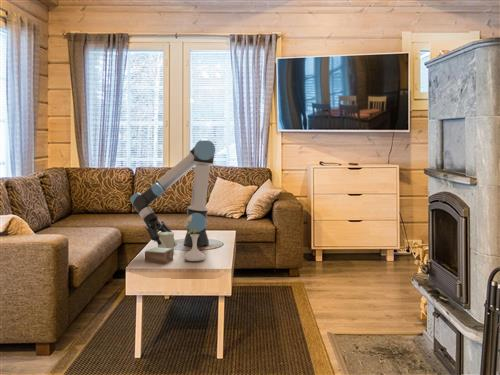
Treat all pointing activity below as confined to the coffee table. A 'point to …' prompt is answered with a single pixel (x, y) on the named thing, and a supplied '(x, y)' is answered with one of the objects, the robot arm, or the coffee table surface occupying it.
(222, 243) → the coffee table surface
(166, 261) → the brown square box
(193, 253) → the flower in vase
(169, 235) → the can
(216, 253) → the coffee table surface
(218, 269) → the coffee table surface
